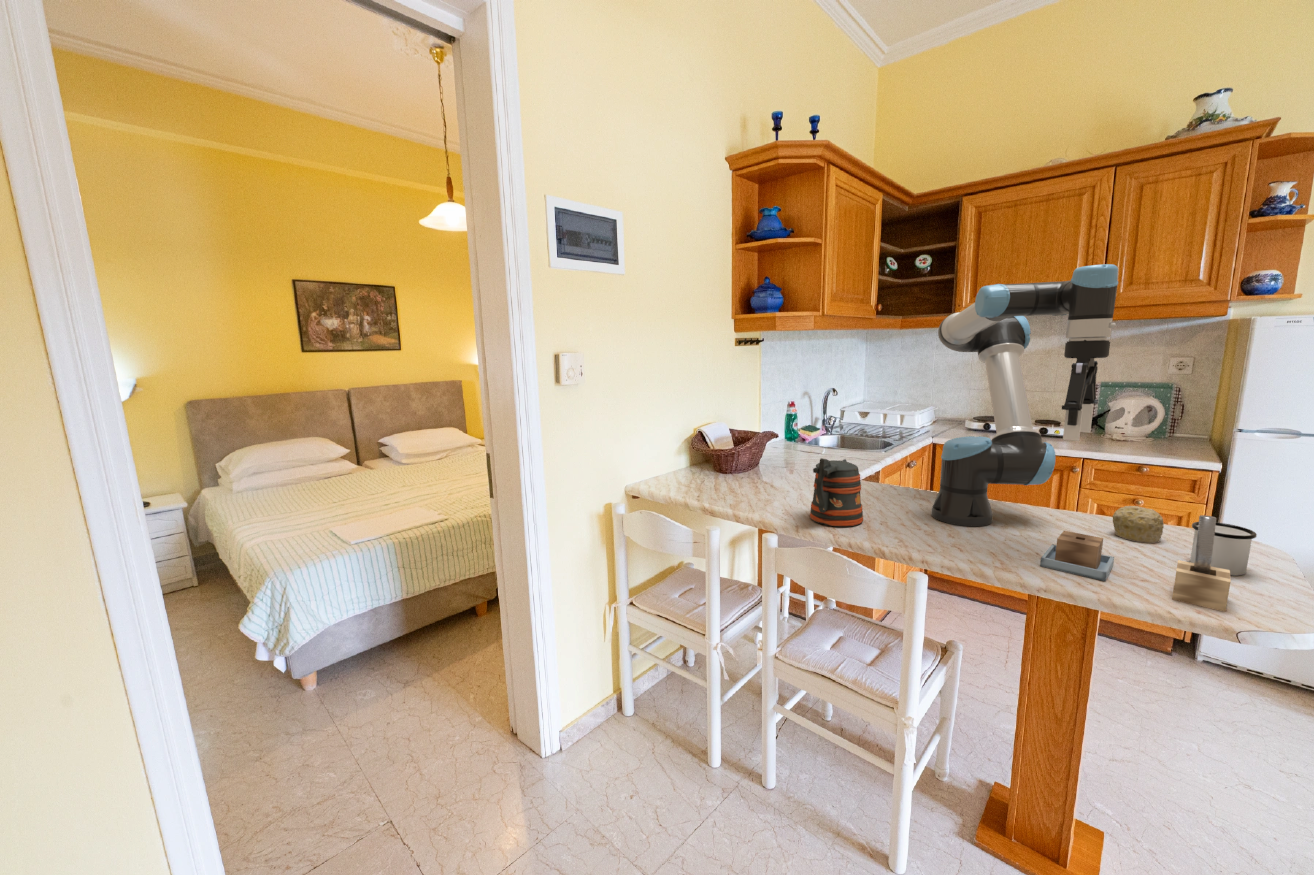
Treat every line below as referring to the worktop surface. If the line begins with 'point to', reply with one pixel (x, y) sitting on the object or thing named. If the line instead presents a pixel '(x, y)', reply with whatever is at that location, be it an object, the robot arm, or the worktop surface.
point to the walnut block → (1079, 549)
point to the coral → (1138, 524)
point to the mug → (1228, 547)
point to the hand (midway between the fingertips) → (1077, 436)
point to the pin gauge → (1204, 544)
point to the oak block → (1202, 586)
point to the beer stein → (836, 494)
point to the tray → (1098, 574)
